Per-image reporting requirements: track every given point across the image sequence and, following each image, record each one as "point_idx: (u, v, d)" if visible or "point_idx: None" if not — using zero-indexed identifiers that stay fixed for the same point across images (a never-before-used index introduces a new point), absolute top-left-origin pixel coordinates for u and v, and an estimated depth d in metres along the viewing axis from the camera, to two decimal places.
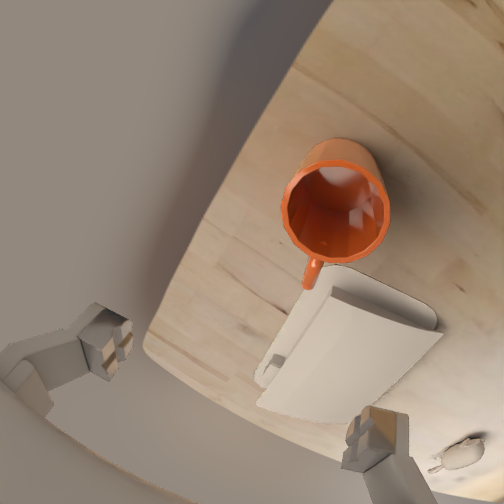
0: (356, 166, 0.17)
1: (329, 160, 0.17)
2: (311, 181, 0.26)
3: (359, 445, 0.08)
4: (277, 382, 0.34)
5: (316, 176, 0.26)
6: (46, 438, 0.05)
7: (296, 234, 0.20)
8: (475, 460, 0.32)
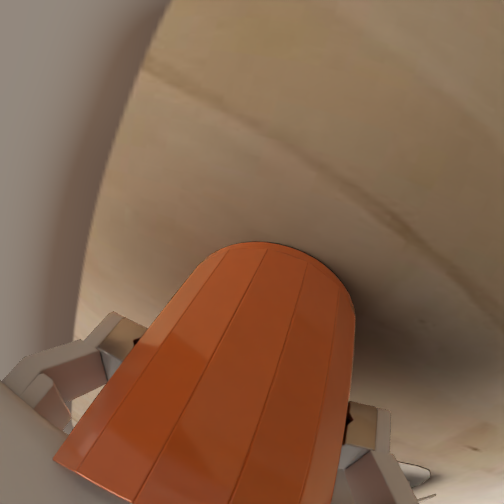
0: None
1: (101, 483, 0.04)
2: None
3: None
4: None
5: None
6: (46, 438, 0.05)
7: None
8: None
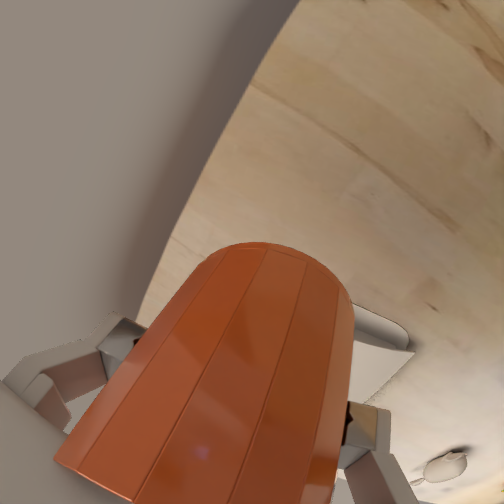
0: None
1: (101, 482, 0.04)
2: None
3: None
4: None
5: None
6: (46, 438, 0.05)
7: None
8: (457, 474, 0.32)
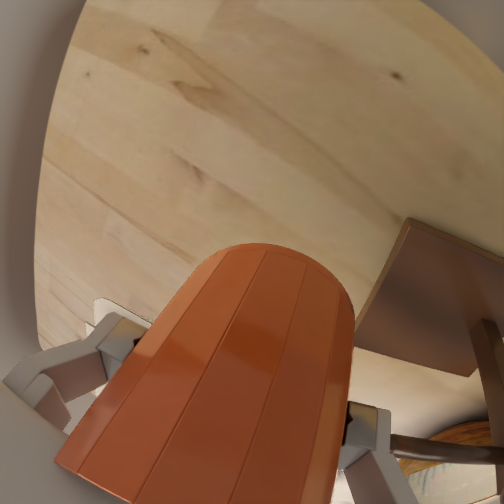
0: None
1: (101, 484, 0.04)
2: None
3: None
4: None
5: None
6: (46, 438, 0.05)
7: None
8: None
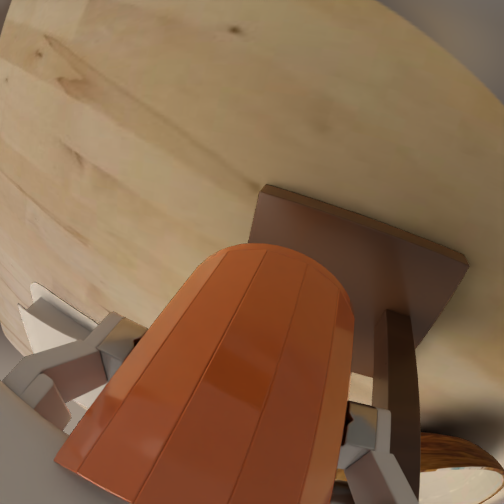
0: None
1: (101, 484, 0.04)
2: None
3: None
4: None
5: None
6: (46, 438, 0.05)
7: None
8: None
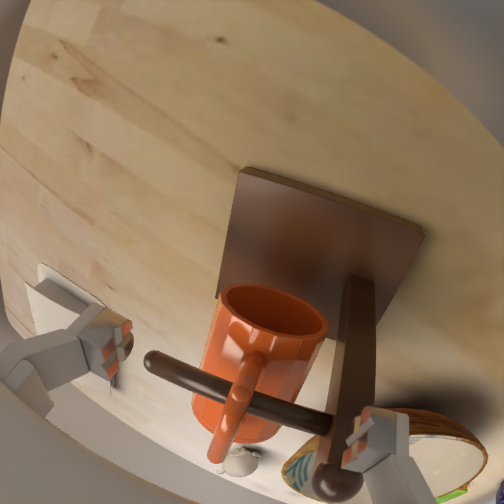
0: (285, 292, 0.22)
1: (263, 286, 0.22)
2: None
3: (359, 445, 0.08)
4: None
5: None
6: (46, 438, 0.05)
7: (234, 313, 0.17)
8: (239, 472, 0.40)
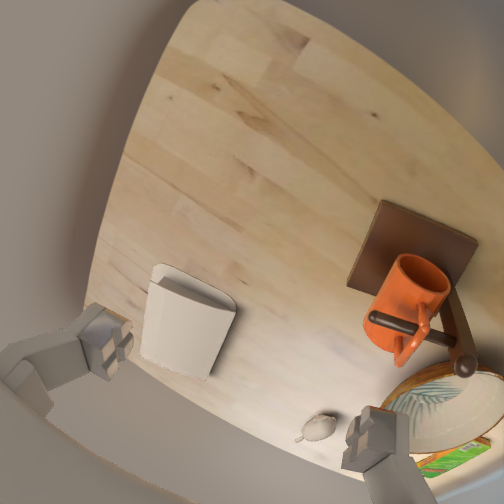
0: (421, 257, 0.31)
1: (409, 254, 0.31)
2: None
3: (359, 445, 0.08)
4: (145, 338, 0.54)
5: None
6: (46, 438, 0.05)
7: (410, 280, 0.27)
8: (323, 434, 0.52)
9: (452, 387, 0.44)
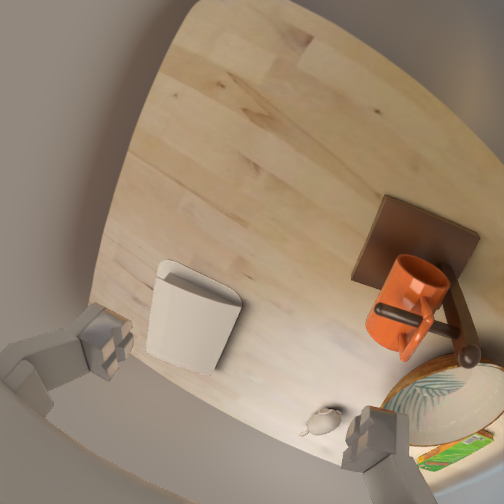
0: (420, 258, 0.32)
1: (408, 255, 0.32)
2: None
3: (359, 445, 0.08)
4: (150, 333, 0.55)
5: None
6: (46, 438, 0.05)
7: (411, 276, 0.28)
8: (328, 427, 0.53)
9: (455, 380, 0.45)
